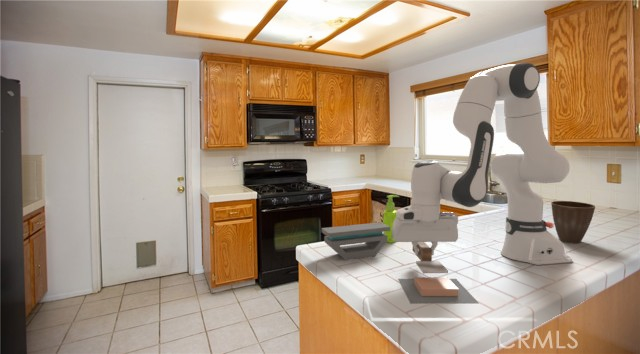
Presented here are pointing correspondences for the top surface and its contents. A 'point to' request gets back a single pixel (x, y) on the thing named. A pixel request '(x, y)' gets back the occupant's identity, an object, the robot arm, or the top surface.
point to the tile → (435, 286)
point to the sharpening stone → (356, 239)
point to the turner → (428, 260)
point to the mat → (416, 297)
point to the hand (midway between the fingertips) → (424, 254)
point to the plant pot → (572, 219)
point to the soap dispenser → (389, 217)
